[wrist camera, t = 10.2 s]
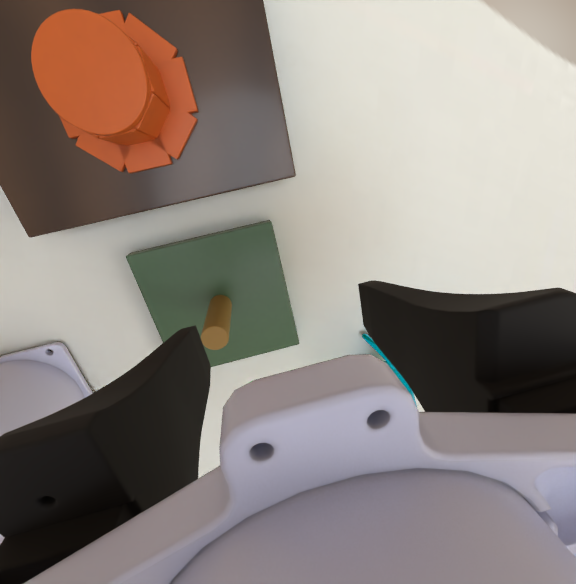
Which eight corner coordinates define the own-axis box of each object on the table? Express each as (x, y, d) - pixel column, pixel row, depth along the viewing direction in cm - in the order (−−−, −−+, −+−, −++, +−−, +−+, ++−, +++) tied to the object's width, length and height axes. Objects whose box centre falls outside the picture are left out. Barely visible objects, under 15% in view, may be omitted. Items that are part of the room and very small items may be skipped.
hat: (91, 182, 17) (48, 183, 13) (26, 32, 14) (-52, -20, 10) (211, 155, 17) (201, 149, 13) (168, 4, 14) (142, -56, 11)
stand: (54, 230, 19) (28, 238, 17) (-54, 21, 15) (-106, -6, 13) (290, 176, 20) (296, 176, 18) (249, -36, 16) (249, -72, 14)
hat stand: (179, 368, 24) (160, 424, 19) (130, 252, 21) (88, 280, 15) (297, 338, 25) (312, 384, 19) (270, 219, 21) (279, 234, 16)
